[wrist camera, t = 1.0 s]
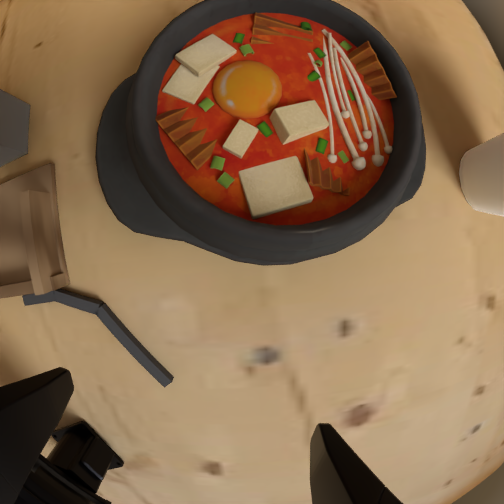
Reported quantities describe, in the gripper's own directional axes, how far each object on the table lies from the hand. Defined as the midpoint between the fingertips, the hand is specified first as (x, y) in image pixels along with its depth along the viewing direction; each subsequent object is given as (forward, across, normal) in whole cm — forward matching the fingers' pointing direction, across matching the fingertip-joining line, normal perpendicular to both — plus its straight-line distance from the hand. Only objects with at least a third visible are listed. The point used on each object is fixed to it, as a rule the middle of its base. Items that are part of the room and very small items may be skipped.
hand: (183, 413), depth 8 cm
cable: (+11, +11, +6) cm, 17 cm away
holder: (+11, +20, -2) cm, 23 cm away
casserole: (+15, -1, -11) cm, 19 cm away
